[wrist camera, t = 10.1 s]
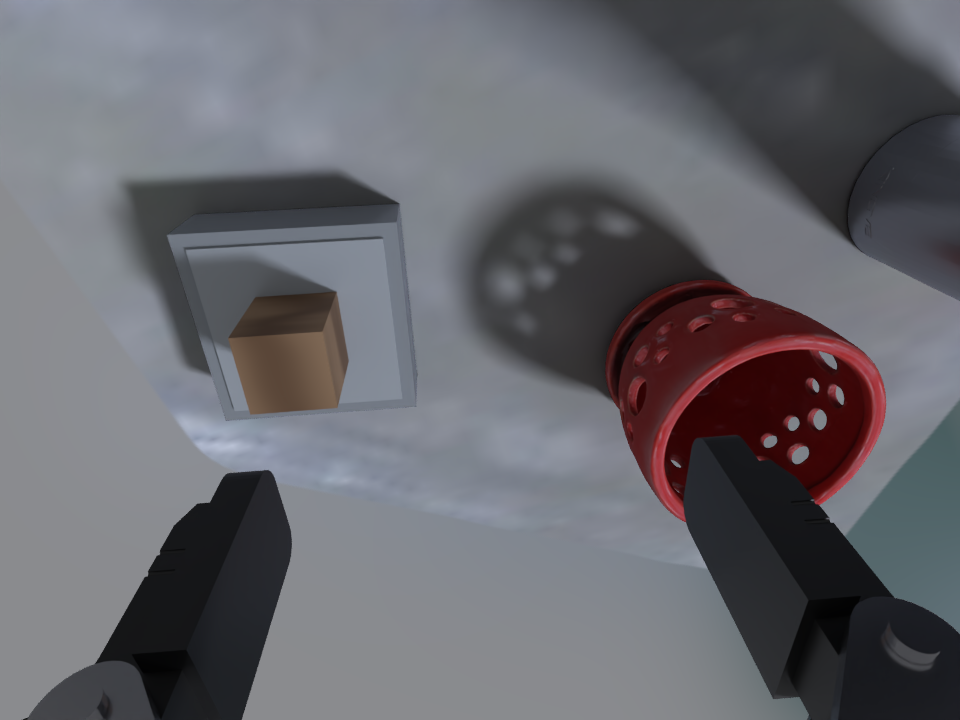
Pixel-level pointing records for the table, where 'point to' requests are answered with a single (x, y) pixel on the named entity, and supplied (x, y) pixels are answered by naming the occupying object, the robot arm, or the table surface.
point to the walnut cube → (291, 353)
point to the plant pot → (739, 387)
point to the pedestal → (305, 292)
